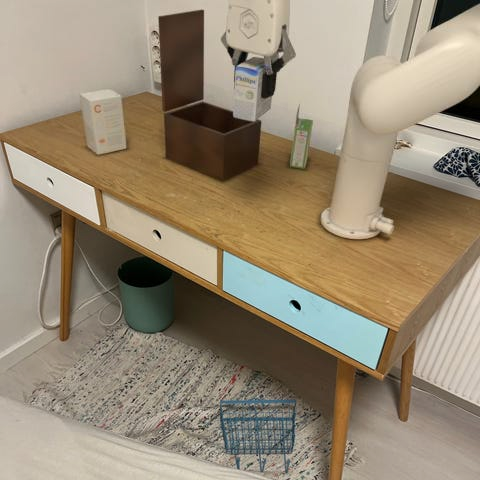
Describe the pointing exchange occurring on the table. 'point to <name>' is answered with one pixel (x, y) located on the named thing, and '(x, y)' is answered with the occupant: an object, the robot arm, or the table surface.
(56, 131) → the table surface
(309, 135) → the ink box
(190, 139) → the chest
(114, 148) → the small box
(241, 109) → the medicine box
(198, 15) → the chest lid
